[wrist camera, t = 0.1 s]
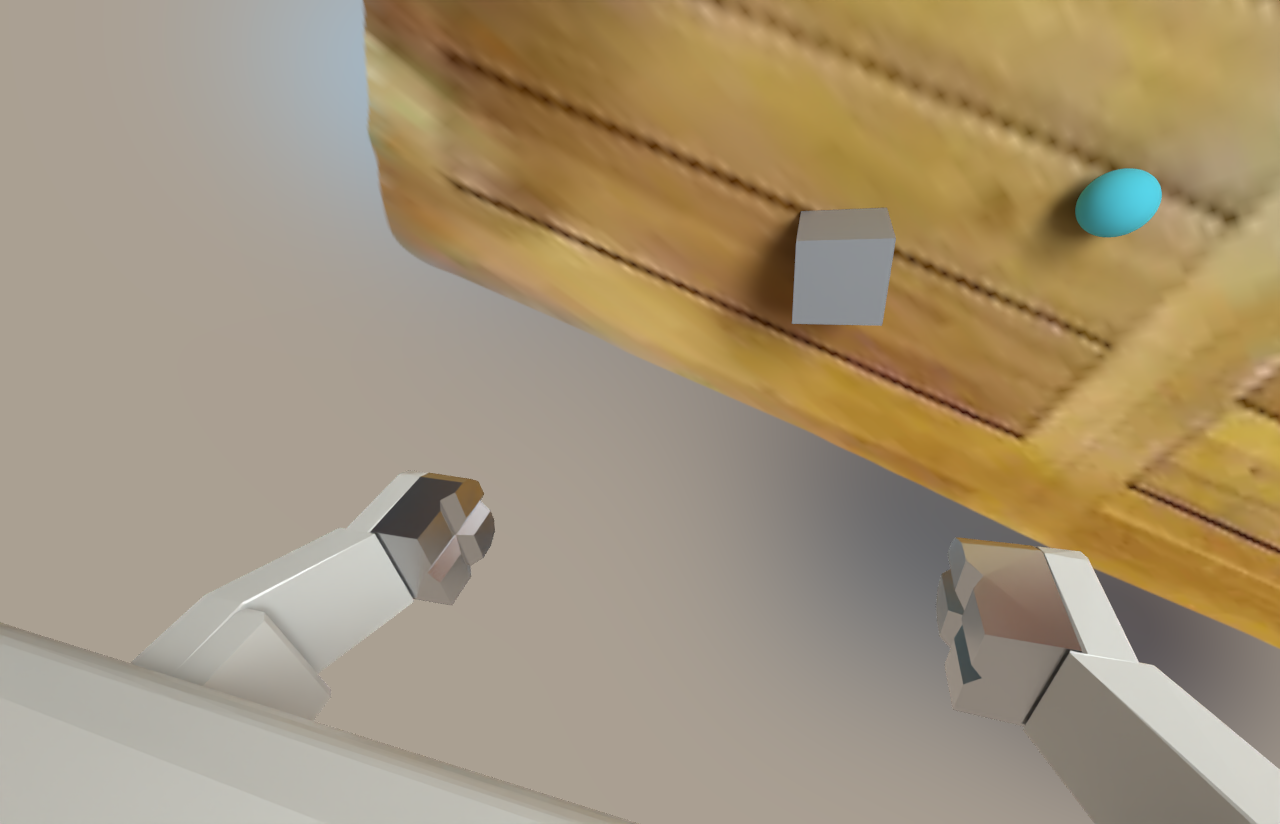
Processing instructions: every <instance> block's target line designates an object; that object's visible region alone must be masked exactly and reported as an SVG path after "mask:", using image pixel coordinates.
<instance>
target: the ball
mask: <svg viewBox="0 0 1280 824" xmlns="http://www.w3.org/2000/svg"><path fill="white" fill-rule="evenodd" d="M1161 198H1162V192H1161V187H1160V184H1159V183H1158V181H1157V179H1156V178H1155V177H1154V176H1152V175H1151V174H1149V173H1148V172H1145V171H1143V170H1139V169H1119V170H1114V171H1111V172H1108V173H1106V174H1104V175H1102V176H1100V177H1098V178H1097V179H1095V180H1094V181H1092V182H1091V183H1090V184H1089V185H1088V186H1087V187H1086V188H1085V189H1084V190H1083V192H1082V193H1081V194H1080V196H1079V198H1078V200H1077V204H1076V209H1075V215H1076V219H1077V221H1078V223H1079V225H1080V226H1081V227H1082V228H1083V229H1084V230H1085V231H1086V232H1088V233H1090V234H1092V235H1095V236H1099V237H1117V236H1122V235H1125V234H1128V233H1131V232H1133V231H1135V230H1137V229H1138V228H1140V227H1142V226H1143V225H1144V224H1146V223H1147V222H1148V221H1149V220H1150V219H1151V218H1152V217H1153V215H1154V214H1155V213H1156V211H1157V209H1158V207H1159V205H1160V202H1161Z"/></svg>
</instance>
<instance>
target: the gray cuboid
mask: <svg viewBox="0 0 1280 824" xmlns="http://www.w3.org/2000/svg"><path fill="white" fill-rule="evenodd" d="M895 240H896V237H895V234H894V231H893V227H892V224H891V220H890V217H889V214H888V210H887V208H869V209H845V210H821V211H801V215H800V221H799V227H798V233H797V239H796V255H795V274H794V293H793V313H792V324H831V325H882V323H883V316H884V310H885V304H886V297H887V291H888V285H889V278H890V272H891V266H892V259H893V253H894V247H895Z"/></svg>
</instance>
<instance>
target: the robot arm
mask: <svg viewBox="0 0 1280 824" xmlns="http://www.w3.org/2000/svg"><path fill="white" fill-rule="evenodd" d="M483 495H484V493H483V490H482V488H481V486H480V484H479V482H478V481H476V480H472V479H467V478H460V477H454V476H447V475H441V474H434V473H425V472H417V471H411V470H408V471H405V472H403V473H400V474H399V475H398V476H397V477H396V478H395V479H394V480H393V481H392V482H391V483H390V484H389V485H388V486H387V487H386V488H385V489H384V490H383V491H382V492H381V493H380V494H379V496H377V497H376V498H375V500H373V502H372V503H371V504H370V505H369V506H368V507H367V508H366V509H365V510H364V511H363V512H362V513H361V514H360V515H359V516H358V517H357V518H356V519H355V520H354V521H353V522H352V523H351V524H350V525H349V526H348V527H347V528H346V529H344V528H338V529H336V530H334V531H332V532H331V533H328V534H326V535H325V536H322V537H320V538H318V539H316V540H314V541H312V542H310V543H308V544H306V545H304V546H302V547H300V548H298V549H296V550H294V551H292V552H290V553H288V554H286V555H284V556H283V557H280V558H278V559H276V560H274V561H272V562H270V563H268V564H266V565H264V566H262V567H260V568H258V569H256V570H255V571H252V572H250V573H248V574H246V575H244V576H242V577H240V578H239V579H236V580H234V581H232V582H230V583H228V584H226V585H224V586H222V587H220V588H218V589H216V590H214V591H212V592H210V593H208V594H206V595H204V596H203V597H202V598H201V599H200V600H199V601H198V602H197V603H196V604H194V605H193V606H192V607H191V608H190V609H189V610H188V611H187V612H186V613H184V614H183V615H182V616H181V617H180V618H179V619H178V620H177V621H176V622H175V623H173V624H172V625H171V626H170V627H169V628H168V629H167V630H166V631H165V632H164V633H163V634H162V635H160V636H159V637H158V638H157V639H156V640H155V641H154V642H153V643H151V644H150V645H149V646H148V647H147V648H146V649H145V650H144V651H143V652H142V653H140V654H139V655H138V656H137V657H136V658H135V659H134V660H133V661H132V662H131V663H128V662H124V661H121V660H118V659H115V658H112V657H108V656H105V655H102V654H99V653H96V652H92V651H90V650H86V649H83V648H80V647H76V646H74V645H70V644H67V643H64V642H61V641H58V640H54V639H51V638H48V637H44V636H41V635H38V634H35V633H32V632H29V631H25V630H22V629H19V628H16V627H13V626H10V625H7V624H4V623H1V622H0V824H638V823H635V822H632V821H629V820H626V819H623V818H619V817H616V816H613V815H610V814H607V813H604V812H600V811H597V810H594V809H591V808H588V807H585V806H581V805H578V804H575V803H572V802H569V801H565V800H562V799H559V798H556V797H553V796H550V795H547V794H543V793H540V792H537V791H534V790H531V789H528V788H524V787H521V786H518V785H515V784H511V783H508V782H505V781H502V780H499V779H496V778H493V777H489V776H486V775H483V774H480V773H477V772H474V771H470V770H467V769H464V768H461V767H458V766H454V765H451V764H448V763H445V762H442V761H438V760H436V759H432V758H429V757H426V756H423V755H420V754H416V753H413V752H410V751H407V750H404V749H400V748H397V747H394V746H391V745H388V744H385V743H381V742H378V741H375V740H372V739H369V738H366V737H362V736H359V735H356V734H353V733H349V732H346V731H344V730H340V729H337V728H334V727H331V726H328V725H324V724H321V723H318V722H315V721H314V719H315V718H316V716H317V715H318V714H319V713H320V711H321V710H322V708H323V707H324V706H325V704H326V703H327V702H328V700H329V699H330V698H331V689H330V688H329V687H328V686H327V684H326V683H325V682H324V681H323V680H322V679H321V677H320V676H319V675H318V673H319V672H321V671H322V670H323V669H325V668H326V667H327V666H329V665H330V664H331V663H333V662H334V661H335V660H337V659H338V658H339V657H341V656H342V655H343V654H345V653H346V652H347V651H349V650H350V649H351V648H353V647H354V646H355V645H357V644H358V643H359V642H361V641H362V640H363V639H365V638H366V637H367V636H369V635H370V634H371V633H373V632H374V631H375V630H376V629H378V628H379V627H380V626H382V625H383V624H385V623H386V622H387V621H389V620H390V619H391V618H393V617H394V616H395V615H397V614H398V613H399V612H401V611H402V610H403V609H405V608H406V607H407V606H409V605H410V604H411V603H413V602H414V600H413V599H418V600H423V601H429V602H435V603H440V604H446V605H453V603H454V602H455V600H456V599H457V597H458V596H459V594H460V592H461V591H462V590H463V588H464V587H465V585H466V584H467V582H468V581H469V579H470V577H471V569H470V566H471V565H473V564H474V563H476V562H477V561H479V560H481V559H482V558H484V556H485V554H486V553H487V551H488V549H489V548H490V546H491V543H492V540H493V536H494V532H495V527H494V518H493V516H492V513H491V511H490V510H489V509H488V508H487V507H486V506H485V505H484V504H483V503H482V502H481V499H482V497H483ZM948 559H949V564H950V570H948V571H946V572H944V573H942V574H941V577H940V581H939V586H938V589H937V602H936V612H937V623H938V629H939V636H940V637H941V638H942V640H943V641H944V642H945V643H946V644H947V645H948V646H949V647H950V651H949V654H948V656H947V659H946V662H945V670H946V675H947V681H948V686H949V692H950V697H951V703H952V707H953V710H956V711H960V712H964V713H968V714H973V715H977V716H982V717H986V718H990V719H994V720H999V721H1003V722H1007V723H1012V724H1016V725H1020V726H1024V728H1023V730H1024V732H1025V733H1026V734H1027V735H1028V737H1029V738H1030V739H1031V741H1032V742H1033V743H1034V745H1035V746H1036V747H1037V749H1038V750H1039V751H1040V752H1041V754H1042V755H1043V757H1044V758H1045V759H1046V760H1047V762H1048V763H1049V764H1050V766H1051V767H1052V768H1053V770H1054V771H1055V772H1056V773H1057V775H1058V776H1059V777H1060V779H1061V780H1062V781H1063V783H1064V784H1065V785H1066V787H1067V788H1068V789H1069V791H1070V792H1071V793H1072V795H1073V796H1074V797H1075V799H1076V800H1077V801H1078V802H1079V804H1080V805H1081V806H1082V808H1083V809H1084V810H1085V812H1086V813H1087V814H1088V816H1089V817H1090V818H1091V819H1092V821H1093V822H1094V823H1095V824H1280V769H1278V768H1277V767H1276V766H1274V765H1273V764H1272V763H1271V762H1270V761H1269V760H1267V759H1266V758H1265V757H1264V756H1263V755H1261V754H1260V753H1259V752H1258V751H1256V750H1255V749H1254V748H1253V747H1252V746H1251V745H1249V744H1248V743H1247V742H1246V741H1245V740H1243V739H1242V738H1241V737H1240V736H1238V735H1237V734H1236V733H1235V732H1234V731H1232V730H1231V729H1230V728H1229V727H1228V726H1226V725H1225V724H1224V723H1223V722H1222V721H1220V720H1219V719H1218V718H1217V717H1216V716H1214V715H1213V714H1212V713H1211V712H1210V711H1208V710H1207V709H1206V708H1205V707H1203V706H1202V705H1201V704H1200V703H1199V702H1197V701H1196V700H1195V699H1194V698H1193V697H1191V696H1190V695H1189V694H1188V693H1187V692H1185V691H1184V690H1183V689H1182V688H1181V687H1179V686H1178V685H1177V684H1176V683H1174V682H1173V681H1172V680H1171V679H1170V678H1169V677H1167V676H1166V675H1165V674H1164V673H1162V672H1161V671H1160V670H1159V669H1158V668H1156V667H1155V666H1154V665H1149V664H1144V663H1139V662H1138V660H1137V658H1136V656H1135V654H1134V652H1133V650H1132V647H1131V645H1130V643H1129V641H1128V639H1127V637H1126V635H1125V633H1124V631H1123V629H1122V627H1121V625H1120V623H1119V621H1118V619H1117V617H1116V615H1115V613H1114V611H1113V609H1112V607H1111V605H1110V603H1109V600H1108V598H1107V596H1106V595H1105V592H1104V590H1103V588H1102V586H1101V584H1100V582H1099V580H1098V578H1097V576H1096V574H1095V572H1094V570H1093V568H1092V566H1091V564H1090V562H1089V560H1088V558H1087V557H1086V556H1085V555H1084V554H1083V553H1082V552H1080V551H1072V550H1063V549H1054V548H1045V547H1033V546H1028V545H1019V544H1011V543H1002V542H993V541H984V540H975V539H966V538H957V537H956V538H955V539H954V540H953V542H952V543H951V546H950V549H949V552H948Z"/></svg>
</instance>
